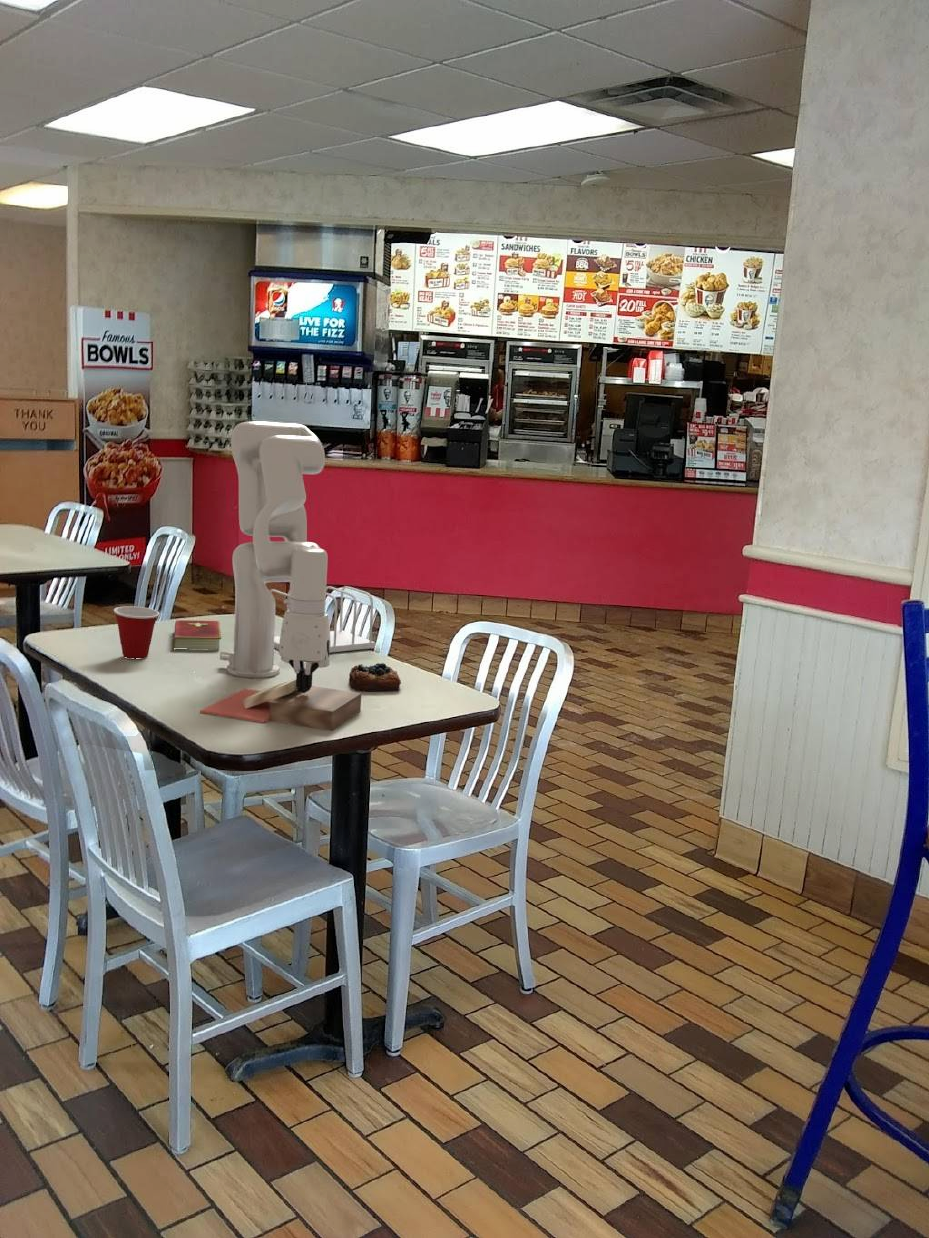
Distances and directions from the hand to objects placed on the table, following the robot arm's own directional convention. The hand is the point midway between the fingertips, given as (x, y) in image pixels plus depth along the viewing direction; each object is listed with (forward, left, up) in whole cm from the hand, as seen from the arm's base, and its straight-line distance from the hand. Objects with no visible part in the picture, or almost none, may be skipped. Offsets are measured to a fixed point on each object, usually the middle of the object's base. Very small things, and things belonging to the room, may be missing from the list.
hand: (303, 690), depth 227 cm
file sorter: (-23, +60, -5) cm, 65 cm away
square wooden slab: (+3, 0, -5) cm, 6 cm away
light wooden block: (-6, 0, -2) cm, 7 cm away
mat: (-11, 0, -5) cm, 12 cm away
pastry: (+5, +29, -6) cm, 30 cm away
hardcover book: (-52, +47, -6) cm, 71 cm away
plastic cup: (-56, +24, -5) cm, 61 cm away
